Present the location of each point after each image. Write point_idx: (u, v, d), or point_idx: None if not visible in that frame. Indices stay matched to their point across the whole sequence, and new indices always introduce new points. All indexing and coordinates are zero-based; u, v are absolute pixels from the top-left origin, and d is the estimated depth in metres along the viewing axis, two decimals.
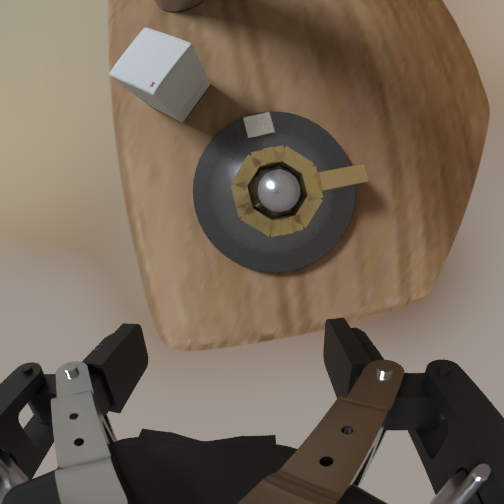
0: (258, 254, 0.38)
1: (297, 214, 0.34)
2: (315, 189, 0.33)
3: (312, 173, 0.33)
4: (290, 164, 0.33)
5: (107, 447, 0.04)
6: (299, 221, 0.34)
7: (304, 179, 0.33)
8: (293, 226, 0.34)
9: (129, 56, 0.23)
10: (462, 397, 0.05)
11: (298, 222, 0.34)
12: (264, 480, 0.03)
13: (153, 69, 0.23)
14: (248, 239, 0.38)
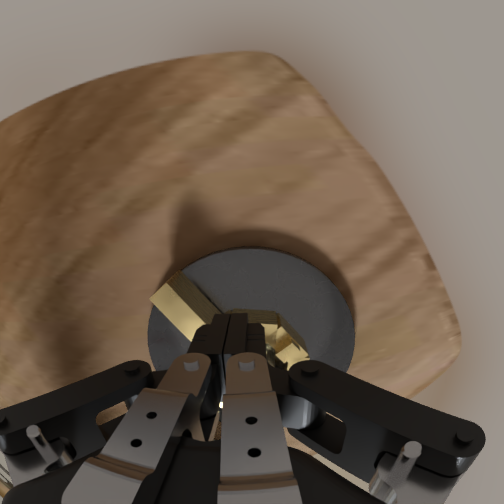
0: (335, 337, 0.27)
1: (265, 341, 0.24)
2: None
3: None
4: None
5: (158, 462, 0.04)
6: (273, 335, 0.24)
7: None
8: (283, 339, 0.24)
9: None
10: (345, 392, 0.06)
11: (274, 336, 0.24)
12: (264, 480, 0.03)
13: None
14: (321, 355, 0.28)
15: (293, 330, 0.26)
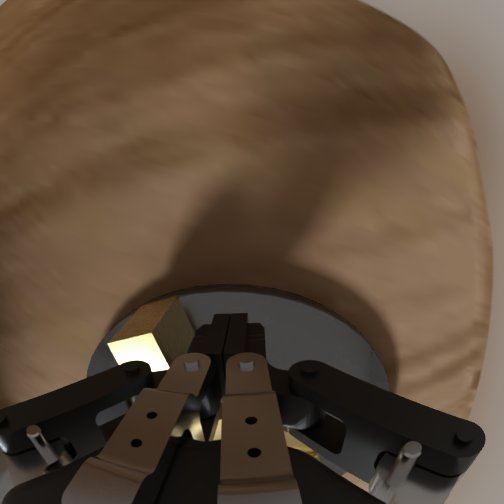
0: None
1: None
2: None
3: None
4: None
5: (158, 461, 0.04)
6: (294, 447, 0.12)
7: None
8: None
9: None
10: (345, 392, 0.06)
11: (296, 448, 0.12)
12: (264, 480, 0.03)
13: None
14: (323, 458, 0.17)
15: None
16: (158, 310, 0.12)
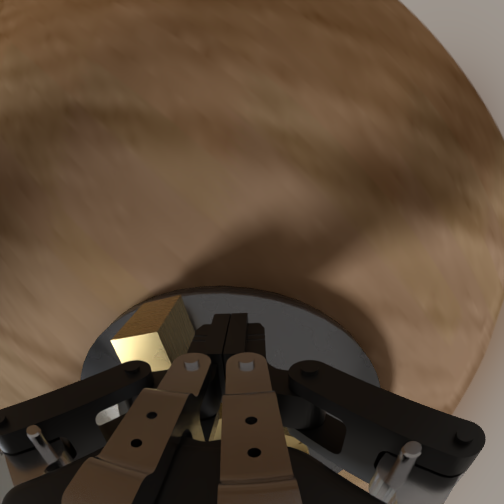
0: None
1: None
2: None
3: None
4: None
5: (158, 462, 0.04)
6: None
7: None
8: None
9: None
10: (344, 391, 0.06)
11: None
12: (264, 480, 0.03)
13: None
14: None
15: None
16: (161, 309, 0.12)
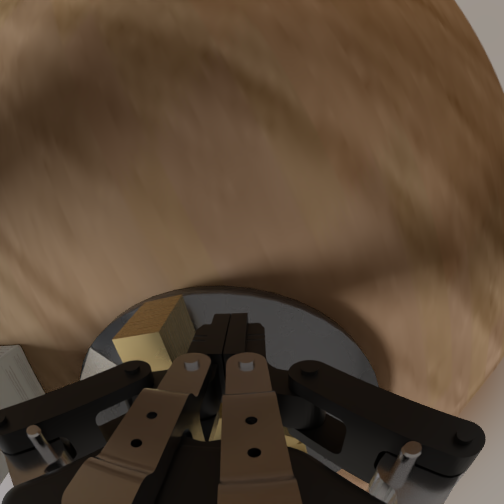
0: None
1: None
2: None
3: None
4: None
5: (158, 461, 0.04)
6: None
7: None
8: None
9: None
10: (345, 392, 0.06)
11: None
12: (264, 480, 0.03)
13: None
14: None
15: None
16: (163, 308, 0.12)
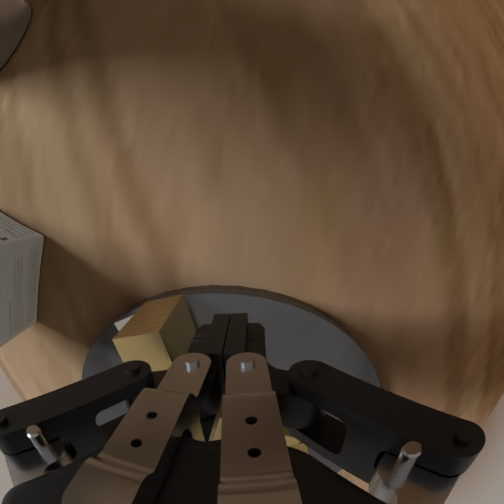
0: None
1: None
2: None
3: None
4: None
5: (158, 461, 0.04)
6: None
7: None
8: None
9: None
10: (344, 392, 0.06)
11: None
12: (264, 480, 0.03)
13: None
14: None
15: None
16: (163, 308, 0.12)
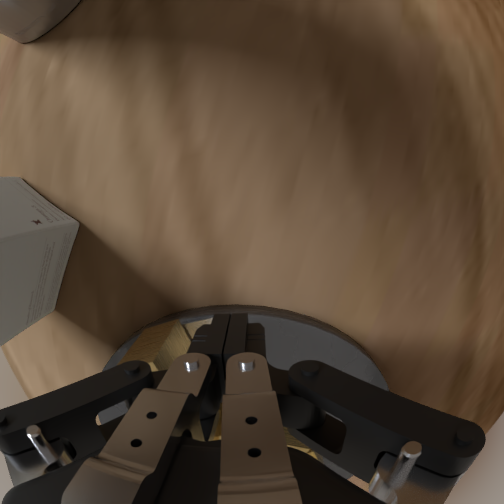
0: None
1: None
2: None
3: None
4: None
5: (158, 461, 0.04)
6: None
7: None
8: None
9: None
10: (345, 391, 0.06)
11: None
12: (264, 480, 0.03)
13: None
14: None
15: None
16: (159, 336, 0.12)
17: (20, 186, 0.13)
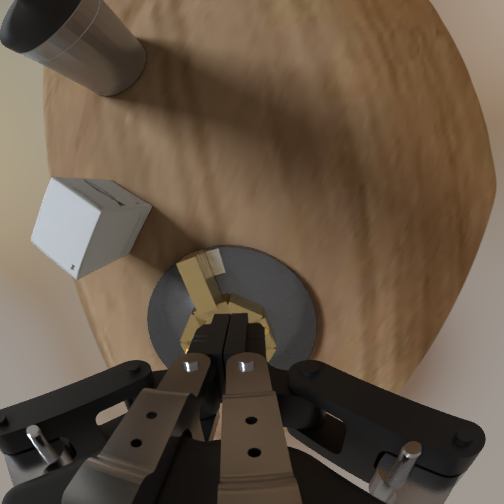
0: None
1: None
2: (218, 310, 0.31)
3: (202, 314, 0.31)
4: None
5: (158, 462, 0.04)
6: None
7: (210, 322, 0.31)
8: None
9: (43, 221, 0.21)
10: (345, 392, 0.06)
11: None
12: (264, 480, 0.03)
13: (69, 247, 0.22)
14: None
15: (270, 325, 0.33)
16: (195, 253, 0.31)
17: (116, 185, 0.31)
